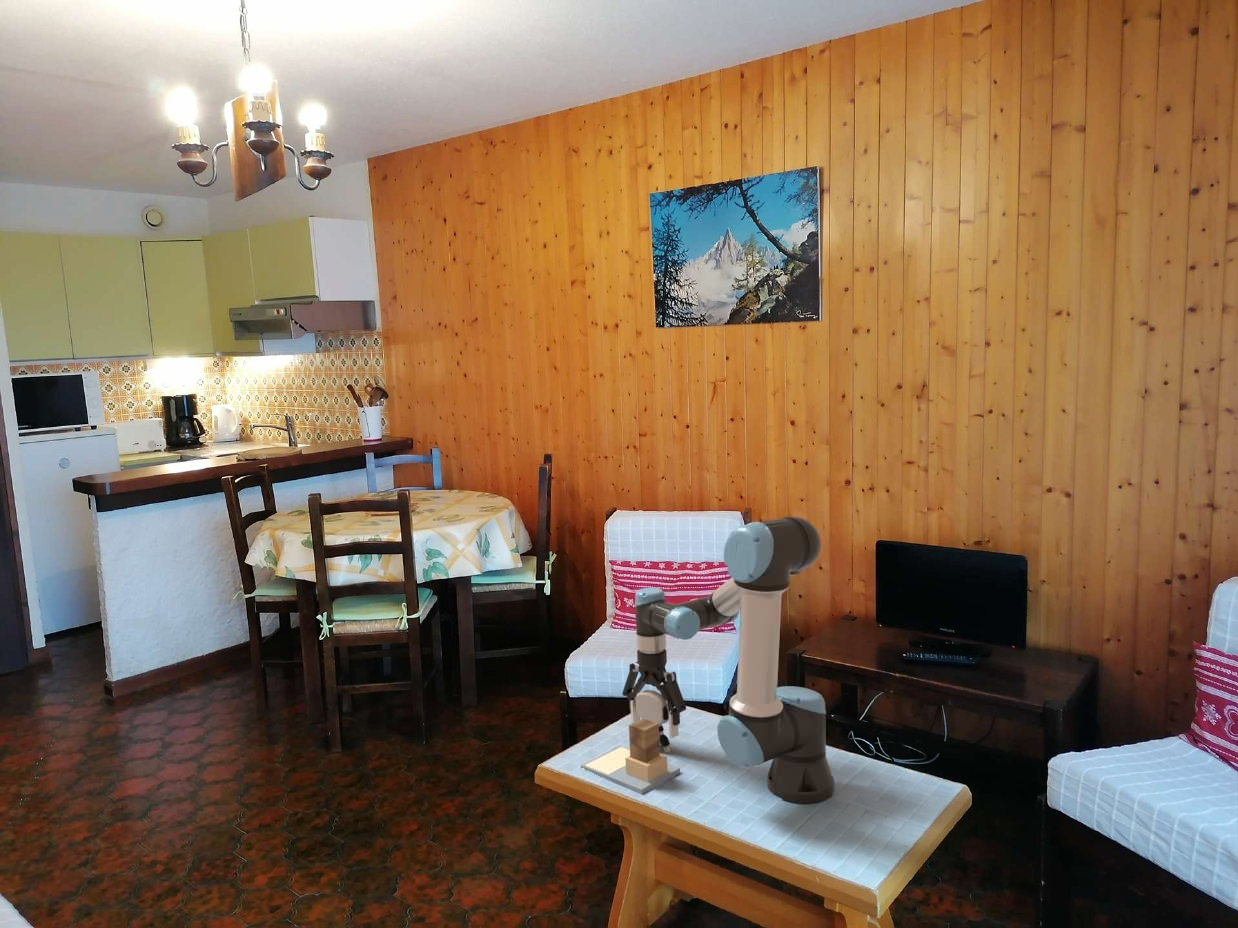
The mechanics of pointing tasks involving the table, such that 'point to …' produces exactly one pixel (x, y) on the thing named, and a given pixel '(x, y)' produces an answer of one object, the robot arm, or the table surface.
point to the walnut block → (644, 740)
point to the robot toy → (654, 712)
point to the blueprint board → (632, 780)
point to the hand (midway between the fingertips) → (654, 729)
